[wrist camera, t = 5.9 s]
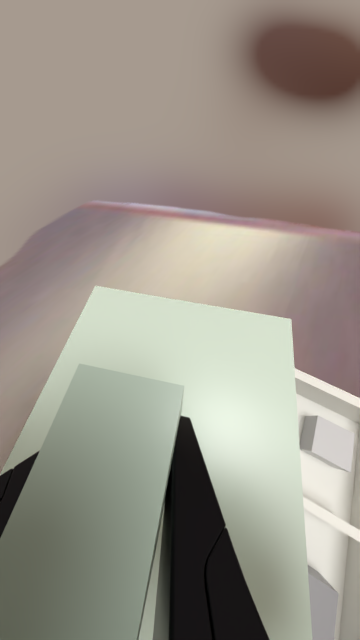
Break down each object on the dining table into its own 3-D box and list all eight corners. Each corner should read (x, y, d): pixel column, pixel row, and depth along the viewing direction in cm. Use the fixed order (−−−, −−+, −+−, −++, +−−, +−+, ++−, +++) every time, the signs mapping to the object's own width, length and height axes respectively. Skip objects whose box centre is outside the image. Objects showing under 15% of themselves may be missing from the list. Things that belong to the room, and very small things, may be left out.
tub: (146, 557, 15) (135, 598, 11) (231, 355, 22) (240, 343, 19) (340, 713, 12) (407, 836, 8) (364, 420, 19) (406, 419, 16)
